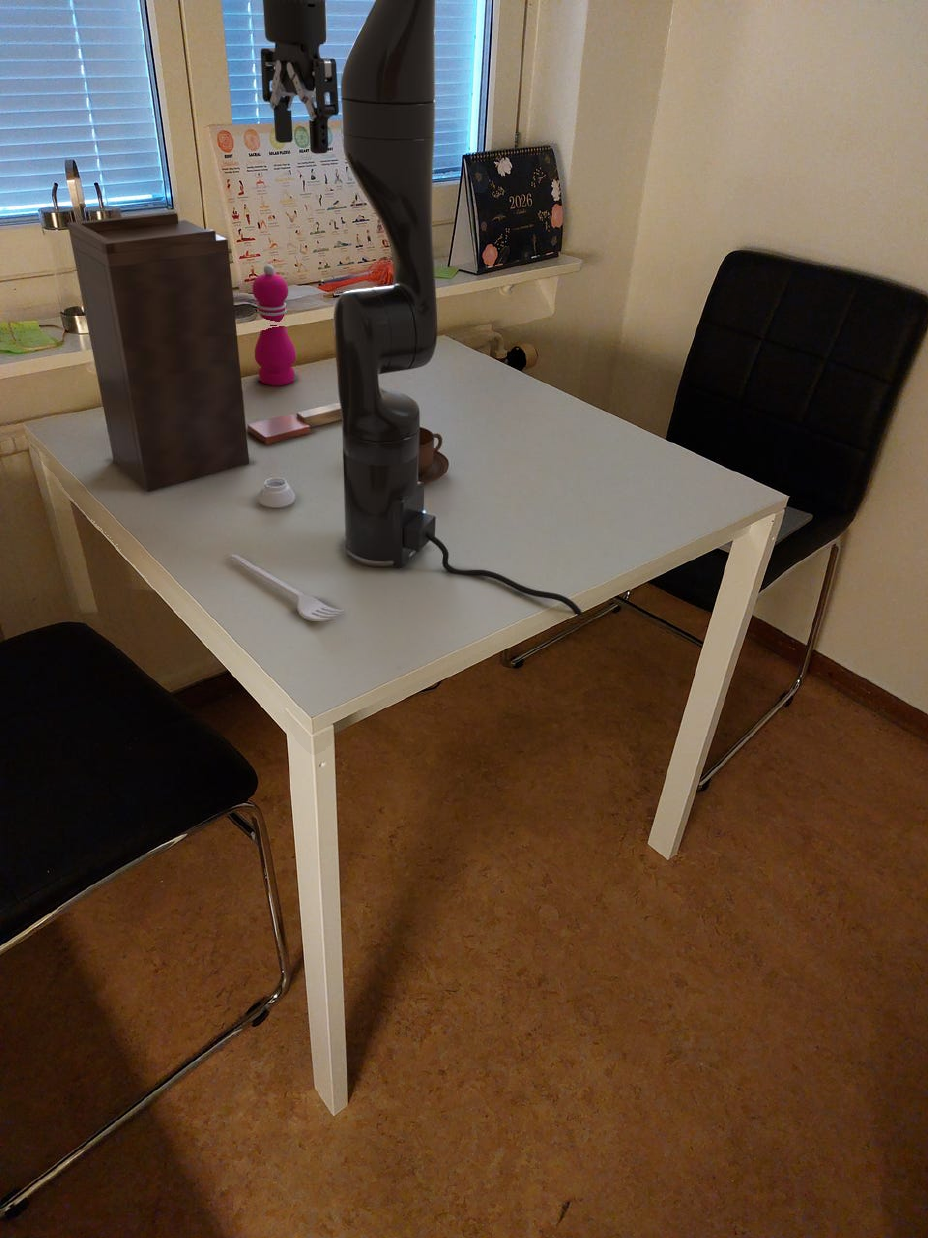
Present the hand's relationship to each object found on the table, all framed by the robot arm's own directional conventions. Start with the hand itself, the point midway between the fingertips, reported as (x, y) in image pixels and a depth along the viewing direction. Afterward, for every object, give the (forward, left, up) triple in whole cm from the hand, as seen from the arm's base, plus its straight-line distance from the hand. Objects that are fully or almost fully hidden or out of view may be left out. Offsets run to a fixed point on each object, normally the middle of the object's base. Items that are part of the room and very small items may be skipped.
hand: (301, 147), depth 116 cm
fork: (-18, +36, -42) cm, 59 cm away
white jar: (-5, +18, -42) cm, 46 cm away
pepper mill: (+21, -20, -42) cm, 51 cm away
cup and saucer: (-17, +1, -42) cm, 46 cm away
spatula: (+5, -8, -42) cm, 43 cm away
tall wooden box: (+14, +15, -42) cm, 47 cm away
